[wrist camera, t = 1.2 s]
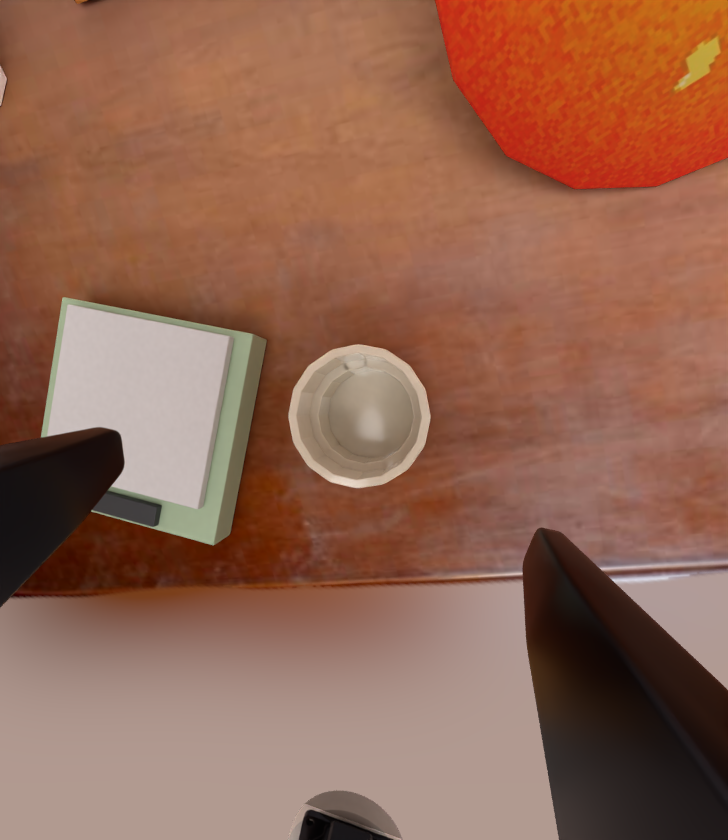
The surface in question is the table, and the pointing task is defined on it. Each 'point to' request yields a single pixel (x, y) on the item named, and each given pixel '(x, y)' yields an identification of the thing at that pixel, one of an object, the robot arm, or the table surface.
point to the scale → (159, 411)
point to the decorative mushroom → (596, 84)
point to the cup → (2, 84)
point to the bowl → (359, 416)
